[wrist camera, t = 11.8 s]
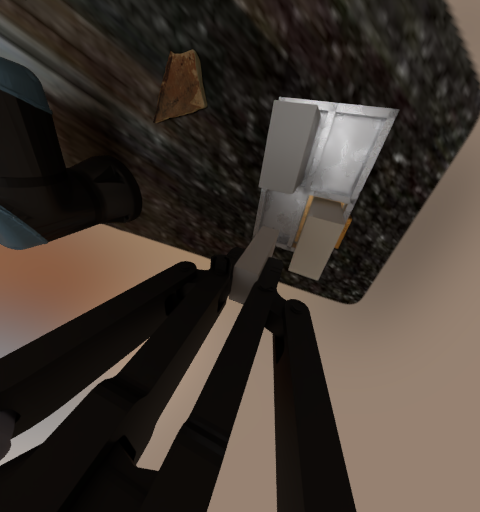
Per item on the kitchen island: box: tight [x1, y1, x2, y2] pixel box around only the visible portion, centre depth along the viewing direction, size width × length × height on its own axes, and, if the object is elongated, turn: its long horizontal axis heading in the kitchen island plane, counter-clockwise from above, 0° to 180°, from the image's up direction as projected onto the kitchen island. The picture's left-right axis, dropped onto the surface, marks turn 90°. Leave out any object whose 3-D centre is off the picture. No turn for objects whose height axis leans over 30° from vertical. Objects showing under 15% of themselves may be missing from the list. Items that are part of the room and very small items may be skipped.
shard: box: [153, 50, 207, 123], centre depth 30 cm, size 11×8×2 cm
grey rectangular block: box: [259, 100, 321, 195], centre depth 24 cm, size 4×8×10 cm, turn 172°
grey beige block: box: [288, 196, 345, 280], centre depth 27 cm, size 4×8×10 cm, turn 171°
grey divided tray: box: [252, 97, 399, 262], centre depth 29 cm, size 14×20×3 cm
